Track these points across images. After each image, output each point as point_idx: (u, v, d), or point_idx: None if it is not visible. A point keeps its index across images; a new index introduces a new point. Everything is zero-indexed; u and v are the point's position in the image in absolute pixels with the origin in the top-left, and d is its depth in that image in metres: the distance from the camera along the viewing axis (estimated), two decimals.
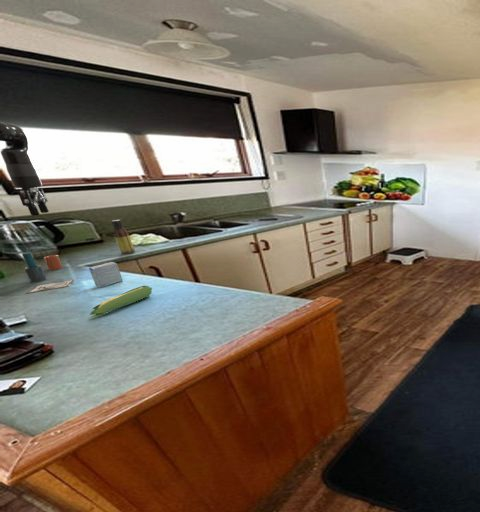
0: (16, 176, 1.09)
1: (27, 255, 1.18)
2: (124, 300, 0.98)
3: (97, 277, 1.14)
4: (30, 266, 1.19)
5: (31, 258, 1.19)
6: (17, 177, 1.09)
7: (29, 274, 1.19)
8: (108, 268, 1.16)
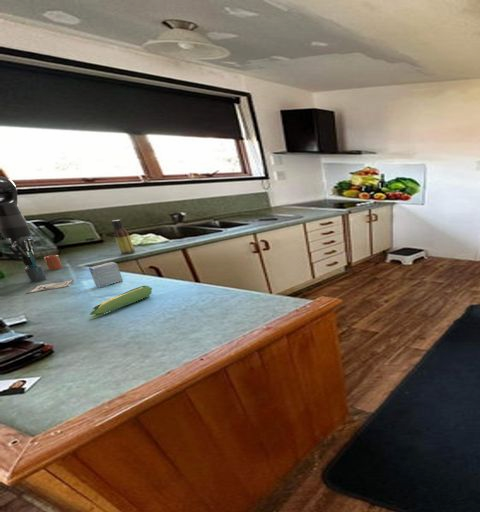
0: (5, 228, 1.11)
1: None
2: (124, 300, 0.98)
3: (97, 277, 1.14)
4: (30, 266, 1.19)
5: (31, 258, 1.19)
6: (6, 229, 1.11)
7: (29, 274, 1.19)
8: (108, 268, 1.16)
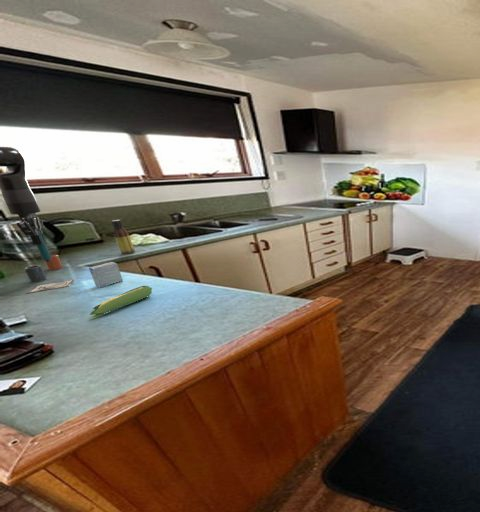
0: (12, 203, 1.03)
1: None
2: (124, 300, 0.98)
3: (97, 277, 1.14)
4: (39, 246, 1.11)
5: (40, 237, 1.11)
6: (13, 204, 1.03)
7: (29, 274, 1.19)
8: (108, 268, 1.16)
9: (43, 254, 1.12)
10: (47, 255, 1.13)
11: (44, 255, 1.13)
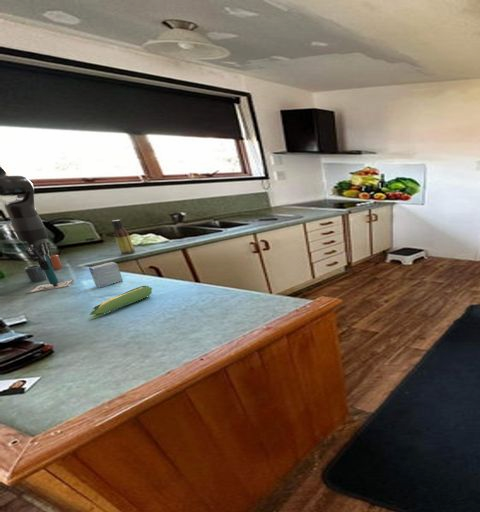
0: (21, 230, 1.04)
1: None
2: (124, 300, 0.98)
3: (97, 277, 1.14)
4: (47, 271, 1.13)
5: (48, 262, 1.13)
6: (22, 231, 1.05)
7: (29, 274, 1.19)
8: (108, 268, 1.16)
9: (51, 279, 1.14)
10: (54, 280, 1.15)
11: (52, 280, 1.14)
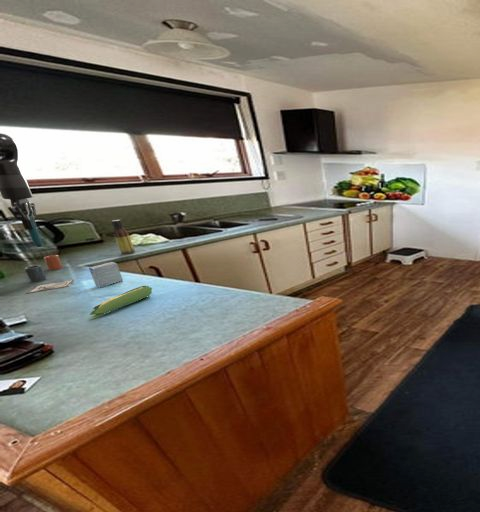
0: (4, 188, 1.06)
1: None
2: (124, 300, 0.98)
3: (97, 277, 1.14)
4: (30, 231, 1.14)
5: (32, 222, 1.14)
6: (5, 189, 1.06)
7: (29, 274, 1.19)
8: (108, 268, 1.16)
9: (34, 239, 1.15)
10: (38, 241, 1.16)
11: (36, 240, 1.15)
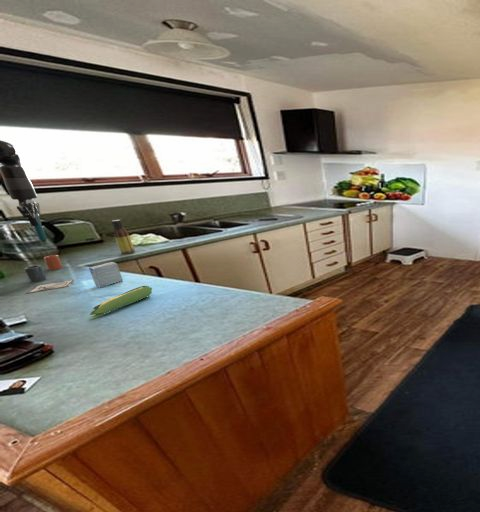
0: (13, 189, 1.20)
1: None
2: (124, 300, 0.98)
3: (97, 277, 1.14)
4: (36, 227, 1.29)
5: (37, 220, 1.29)
6: (14, 190, 1.21)
7: (29, 274, 1.19)
8: (108, 268, 1.16)
9: (40, 234, 1.30)
10: (43, 236, 1.31)
11: (41, 235, 1.30)
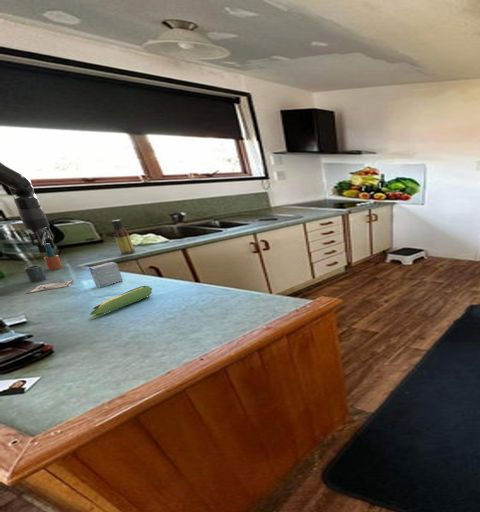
0: (27, 220, 1.25)
1: (47, 245, 1.32)
2: (124, 300, 0.98)
3: (97, 277, 1.14)
4: (49, 255, 1.34)
5: (50, 248, 1.34)
6: (28, 220, 1.25)
7: (29, 274, 1.19)
8: (108, 268, 1.16)
9: None
10: None
11: None
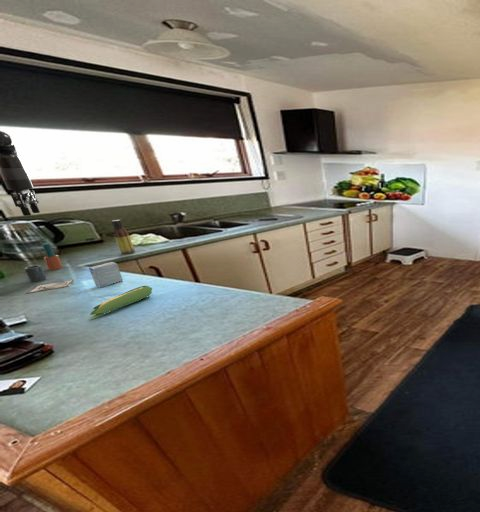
0: (9, 179, 1.19)
1: (47, 245, 1.32)
2: (124, 300, 0.98)
3: (97, 277, 1.14)
4: (49, 255, 1.34)
5: (50, 248, 1.34)
6: (10, 180, 1.20)
7: (29, 274, 1.19)
8: (108, 268, 1.16)
9: None
10: None
11: None
